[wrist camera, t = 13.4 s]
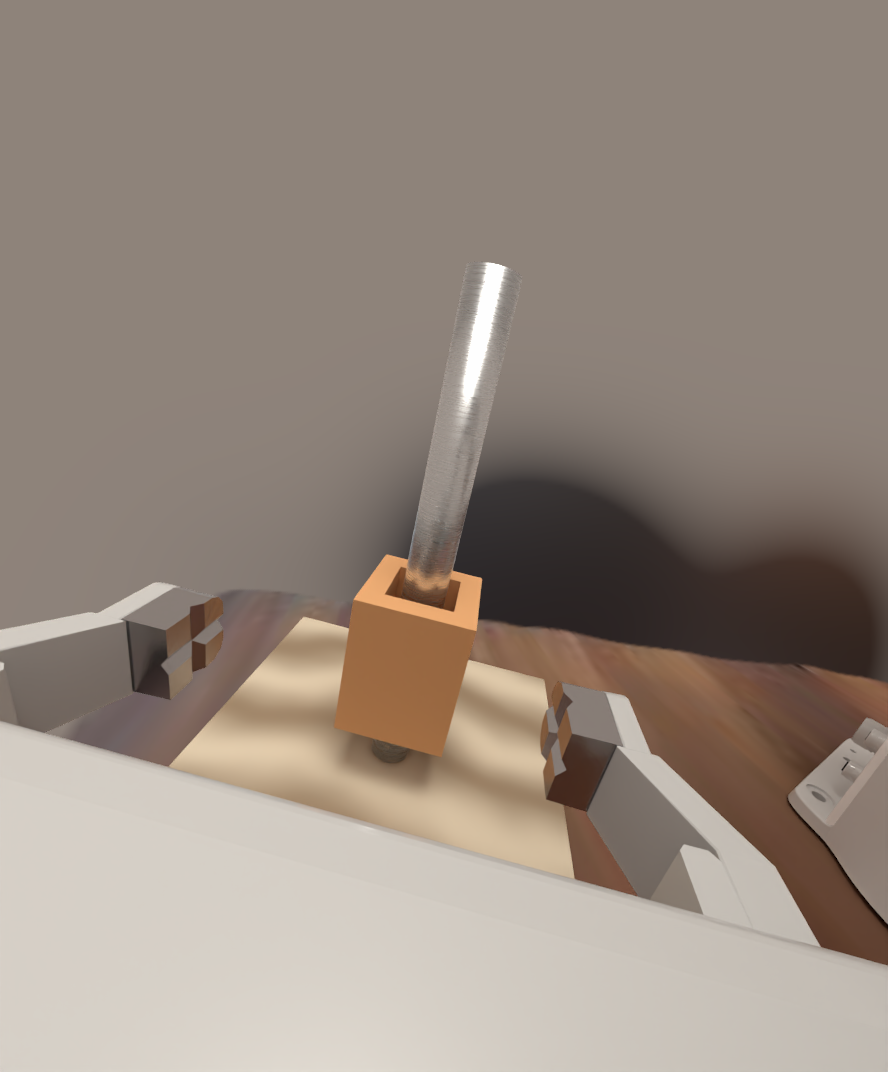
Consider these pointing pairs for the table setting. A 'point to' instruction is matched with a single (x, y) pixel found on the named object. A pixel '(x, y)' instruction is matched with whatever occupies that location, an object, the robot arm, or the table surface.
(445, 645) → the sleeve
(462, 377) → the steel pipe
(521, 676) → the pipe stand
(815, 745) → the table surface
